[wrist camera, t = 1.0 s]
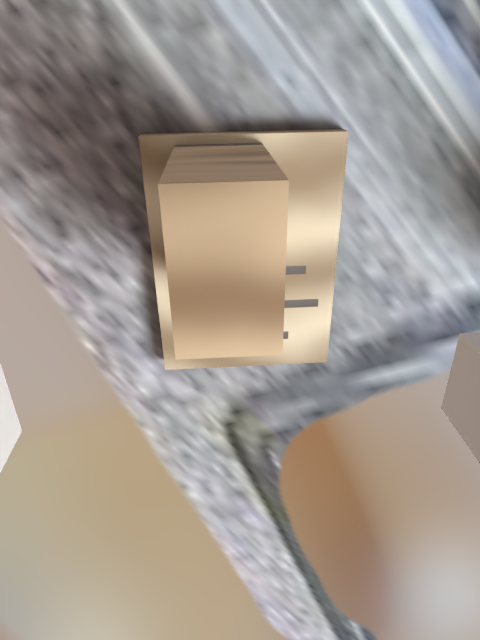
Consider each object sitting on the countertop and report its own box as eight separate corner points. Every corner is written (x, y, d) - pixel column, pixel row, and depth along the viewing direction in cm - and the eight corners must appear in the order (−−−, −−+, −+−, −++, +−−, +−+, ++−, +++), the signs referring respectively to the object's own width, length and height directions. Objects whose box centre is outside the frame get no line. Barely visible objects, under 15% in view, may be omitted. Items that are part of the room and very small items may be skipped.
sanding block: (174, 145, 26) (157, 183, 17) (262, 142, 26) (288, 180, 17) (185, 274, 30) (175, 359, 21) (260, 271, 30) (282, 354, 21)
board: (140, 133, 27) (138, 136, 26) (343, 128, 27) (348, 131, 26) (166, 360, 34) (165, 369, 33) (323, 353, 35) (327, 362, 34)
